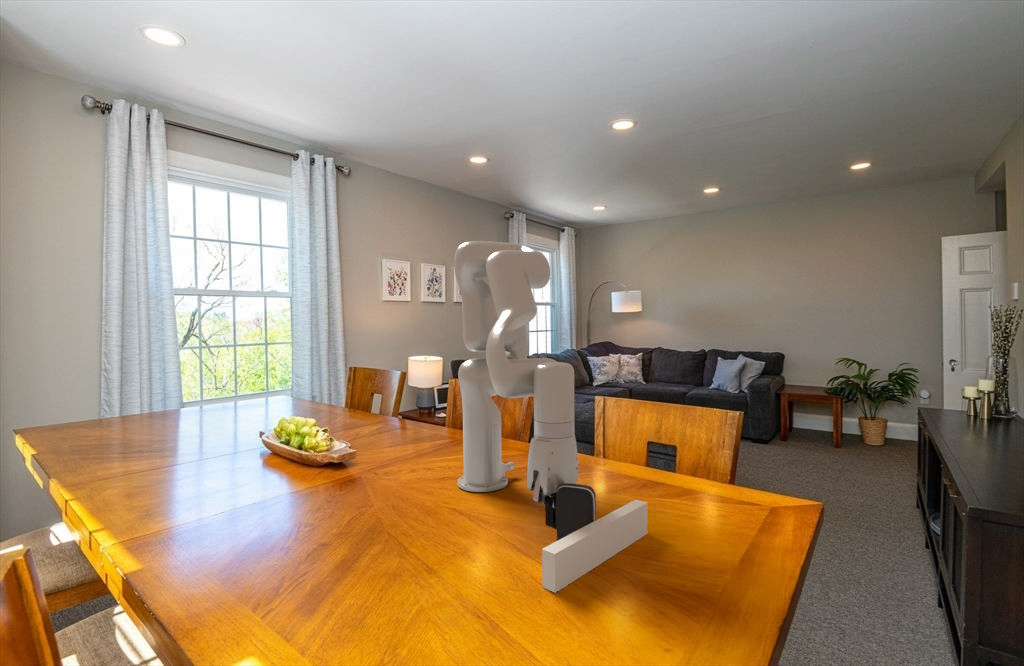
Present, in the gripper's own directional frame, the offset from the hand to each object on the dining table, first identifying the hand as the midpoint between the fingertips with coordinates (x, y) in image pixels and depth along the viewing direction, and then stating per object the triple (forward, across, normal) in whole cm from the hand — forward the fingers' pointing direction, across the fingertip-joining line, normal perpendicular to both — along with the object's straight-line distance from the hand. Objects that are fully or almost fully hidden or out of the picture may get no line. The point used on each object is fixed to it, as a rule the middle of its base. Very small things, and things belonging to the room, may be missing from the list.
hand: (554, 526), depth 93 cm
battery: (+3, 0, +5) cm, 6 cm away
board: (+3, 0, +10) cm, 11 cm away
